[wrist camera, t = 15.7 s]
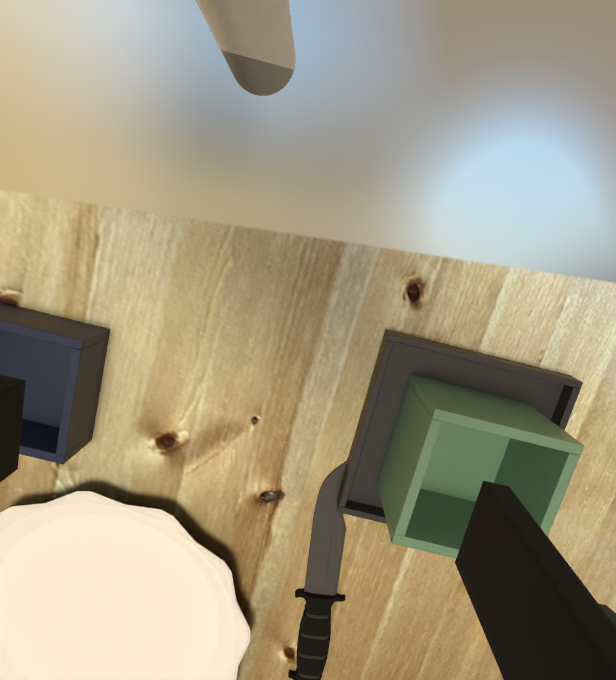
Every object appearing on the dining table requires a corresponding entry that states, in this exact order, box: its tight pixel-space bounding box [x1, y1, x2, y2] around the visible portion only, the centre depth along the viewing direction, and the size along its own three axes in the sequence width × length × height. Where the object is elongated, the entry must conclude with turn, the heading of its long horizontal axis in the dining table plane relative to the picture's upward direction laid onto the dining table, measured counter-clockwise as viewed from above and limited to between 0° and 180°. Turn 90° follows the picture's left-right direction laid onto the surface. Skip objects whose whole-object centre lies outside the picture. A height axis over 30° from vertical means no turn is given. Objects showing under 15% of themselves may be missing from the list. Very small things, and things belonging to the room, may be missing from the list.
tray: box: [336, 330, 583, 524], centre depth 42 cm, size 17×17×2 cm
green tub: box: [377, 374, 584, 558], centre depth 38 cm, size 11×11×9 cm
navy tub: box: [0, 302, 110, 464], centre depth 40 cm, size 11×11×5 cm
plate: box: [0, 490, 251, 680], centre depth 47 cm, size 29×29×2 cm
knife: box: [289, 461, 348, 680], centre depth 46 cm, size 25×2×5 cm
